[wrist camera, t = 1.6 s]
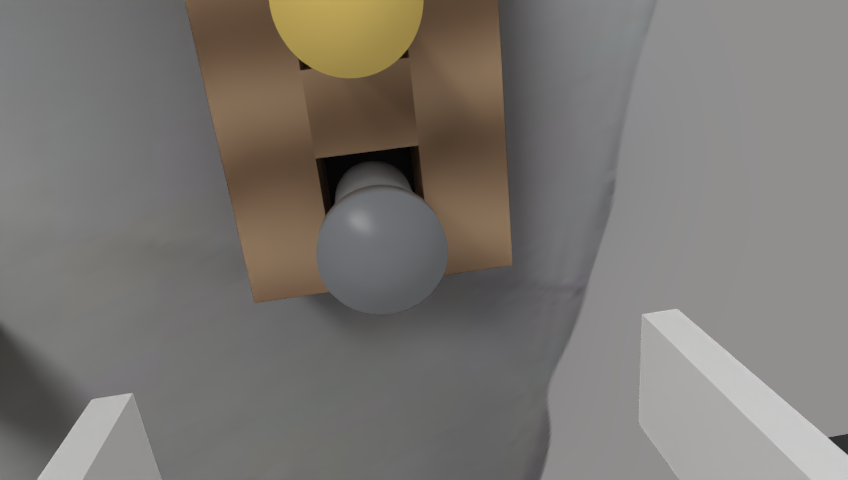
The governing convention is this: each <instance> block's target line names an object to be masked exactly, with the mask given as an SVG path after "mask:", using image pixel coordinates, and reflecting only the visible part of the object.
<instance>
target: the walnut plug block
mask: <svg viewBox="0 0 848 480" xmlns="http://www.w3.org/2000/svg"><path fill="white" fill-rule="evenodd" d="M185 4H186V8H187V12H188V17H189V21H190V25H191V30H192V34H193V38H194V42H195V47H196V51H197V55H198V60H199V64H200V68H201V73H202V77H203V81H204V86H205V90H206V94H207V99H208V103H209V107H210V112H211V116H212V120H213V125H214V129H215V133H216V138H217V142H218V146H219V151H220V155H221V159H222V164H223V168H224V172H225V177H226V181H227V185H228V190H229V194H230V198H231V203H232V207H233V211H234V216H235V220H236V224H237V229H238V233H239V237H240V242H241V246H242V250H243V254H244V259H245V263H246V267H247V272H248V276H249V280H250V285H251V289H252V293H253V298H254V302H255V303H259V302H265V301H272V300H279V299H286V298H293V297H299V296H306V295H313V294H320V293H327V292H330V291H329V290H328V289H327V288H326V286H325V284H324V283H323V281H322V279H321V276H320V274H319V270H318V266H317V259H316V253H317V243H318V236H319V231H320V228H321V224H322V222H323V220H324V218H325V216H326V215H327V213H328V212H329V210H330V209H331V208H332V204H331V198H330V192H329V186H328V180H327V174H326V168H325V162H324V157H332V156H340V155H348V154H355V153H363V152H371V151H379V150H386V149H394V148H402V147H410V155H411V164H412V173H413V181H414V190H415V194H417V195H418V196H420V197H421V198H422V199H423V200H424V201H426V202H427V203H428V204H429V206H430V207H431V208H432V209H433V211H434V212H435V214H436V215H437V217H438V220H439V222H440V224H441V226H442V228H443V230H444V233H445V236H446V239H447V245H448V259H447V265H446V269H445V272H444V274H443V275H449V274H456V273H462V272H469V271H476V270H483V269H489V268H496V267H503V266H510V265H512V247H511V228H510V210H509V191H508V173H507V155H506V136H505V118H504V99H503V81H502V62H501V44H500V25H499V7H498V0H424V3H423V13H422V18H421V22H420V25H419V28H418V31H417V34H416V36H415V38H414V40H413V42H412V43H411V45H410V46H409V48H408V49H407V50H406V52H405V53H404V54H403V55H402V56H401V57H400V58H399V59H398V60H397V61H396V62H395V63H393V64H392V65H390V66H389V67H388V68H386V69H384V70H382V71H380V72H378V73H376V74H373V75H370V76H366V77H360V78H339V77H334V76H329V75H327V74H324V73H321V72H319V71H317V70H315V69H313V68H311V67H309V66H308V65H307V64H305V63H304V62H302V61H301V60H300V59H299V58H298V57H297V56H295V55H294V54H293V52H292V51H291V50H290V49H289V48H288V47H287V45H286V44H285V42H284V41H283V39H282V38H281V36H280V34H279V32H278V30H277V29H276V26H275V23H274V21H273V18H272V14H271V10H270V5H269V0H185Z"/></svg>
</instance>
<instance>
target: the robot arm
mask: <svg viewBox="0 0 848 480" xmlns="http://www.w3.org/2000/svg"><path fill="white" fill-rule="evenodd" d="M638 424H639V425H640V427H641V428H642V429H643V431H644V432H645V433H646V435H647V436H648V437H649V439H650V440H651V442H652V443H653V444H654V445H655V447H656V449H657V450H658V451H659V453H660V454H661V455H662V457H663V458H664V459H665V461H666V462H667V464H668V465H669V466H670V468H671V469H672V470H673V472H674V473H675V474H676V476H677V477H678V479H679V480H848V434H846V435H840V436H835V437H829V438H827V437H826V436H825V435H824V434H823V433H821V432H820V431H819V430H818V429H817V428H816V427H815V426H813V425H812V424H811V423H810V422H809V421H808V420H806V419H805V418H804V417H803V416H802V415H800V414H799V413H798V412H797V411H796V410H795V409H794V408H792V407H791V406H790V405H789V404H788V403H787V402H785V401H784V400H783V399H782V398H781V397H780V396H778V395H777V394H776V393H775V392H774V391H773V390H771V389H770V388H769V387H768V386H767V385H766V384H764V383H763V382H762V381H761V380H760V379H759V378H757V377H756V376H755V375H754V374H753V373H752V372H750V371H749V370H748V369H747V368H746V367H745V366H743V365H742V364H741V363H740V362H739V361H737V360H736V359H735V358H734V357H733V356H732V355H731V354H729V353H728V352H727V351H726V350H725V349H724V348H722V347H721V346H720V345H719V344H718V343H717V342H716V341H714V340H713V339H712V338H711V337H710V336H708V335H707V334H706V333H705V332H704V331H703V330H701V329H700V328H699V327H698V326H697V325H696V324H695V323H693V322H692V321H691V320H690V319H689V318H688V317H686V316H685V315H684V314H683V313H682V312H681V311H679V310H678V309H672V310H665V311H658V312H652V313H646V314H642V325H641V354H640V382H639V411H638ZM37 480H161V477H160V474H159V471H158V468H157V465H156V462H155V459H154V456H153V452H152V449H151V446H150V443H149V440H148V437H147V434H146V431H145V428H144V425H143V422H142V419H141V416H140V413H139V410H138V407H137V404H136V401H135V398H134V395H133V393H129V394H123V395H116V396H110V397H103V398H97V399H91V401H90V402H89V404H88V405H87V407H86V408H85V410H84V411H83V413H82V414H81V416H80V417H79V419H78V420H77V422H76V423H75V425H74V426H73V427H72V429H71V430H70V432H69V433H68V435H67V436H66V438H65V439H64V441H63V442H62V444H61V445H60V447H59V448H58V450H57V451H56V453H55V454H54V455H53V457H52V458H51V460H50V461H49V463H48V464H47V466H46V467H45V469H44V470H43V472H42V473H41V475H40V476H39V478H38V479H37Z"/></svg>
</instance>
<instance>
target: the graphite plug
mask: <svg viewBox="0 0 848 480" xmlns="http://www.w3.org/2000/svg"><path fill="white" fill-rule="evenodd" d="M316 259H317V266H318V270H319V274H320V276H321V279H322V281H323V283H324V284H325V286H326V288H327V289H328V290H329V291H330V293H331V294H332V295H333V296H334V297H335V298H336V299H337V300H339V301H340V302H341V303H343V304H344V305H346V306H348V307H350V308H351V309H354V310H356V311H359V312H363V313H367V314H374V315H387V314H394V313H399V312H402V311H405V310H408V309H410V308H412V307H414V306H416V305H417V304H419V303H421V302H422V301H423V300H424V299H426V298H427V297H428V296H429V295H430V294H431V293H432V292H433V291H434V290H435V288H436V287H437V285H438V284H439V282H440V281H441V279H442V277H443V274H444V272H445V269H446V265H447V259H448V245H447V239H446V236H445V233H444V230H443V228H442V226H441V224H440V222H439V220H438V217H437V215H436V214H435V212H434V211H433V209H432V208H431V207H430V206H429V204H428V203H427V202H426V201H424V200H423V199H422V198H421V197H420V196H418V195H417V194H415V193H413V192H412V190H411V187H410V185H409V182H408V180H407V179H406V177H405V176H404V174H403V173H402V172H401V171H400V170H399V169H397V168H396V167H394V166H393V165H391V164H389V163H386V162H382V161H365V162H362V163H359V164H357V165H355V166H353V167H351V168H350V169H349V170H348V171H346V173H345V174H344V175H343V176H342V178H341V179H340V181H339V183H338V185H337V188H336V194H335V204H334V205H333V207H332V208H331V209H330V210H329V212H328V213H327V215H326V216H325V218H324V220H323V222H322V224H321V228H320V231H319V236H318V243H317V253H316Z"/></svg>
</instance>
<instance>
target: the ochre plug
mask: <svg viewBox="0 0 848 480" xmlns="http://www.w3.org/2000/svg"><path fill="white" fill-rule="evenodd" d="M423 3H424V0H269V5H270V10H271V14H272V18H273V21H274V23H275V26H276V29H277V30H278V32H279V34H280V36H281V38H282V39H283V41H284V42H285V44H286V45H287V47H288V48H289V49H290V50H291V51H292V52H293V54H294V55H295V56H297V57H298V58H299V59H300V60H301V61H302V62H304V63H305V64H307V65H308V66H309V67H311V68H313V69H315V70H317V71H319V72H321V73H324V74H327V75H329V76H334V77H339V78H360V77H366V76H370V75H373V74H376V73H378V72H380V71H382V70H384V69H386V68H388V67H389V66H390V65H392V64H393V63H395V62H396V61H397V60H398V59H399V58H400V57H401V56H402V55H403V54H404V53H405V52H406V50H407V49H408V48H409V46H410V45H411V43H412V42H413V40H414V38H415V36H416V34H417V31H418V28H419V25H420V22H421V18H422V13H423Z"/></svg>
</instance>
